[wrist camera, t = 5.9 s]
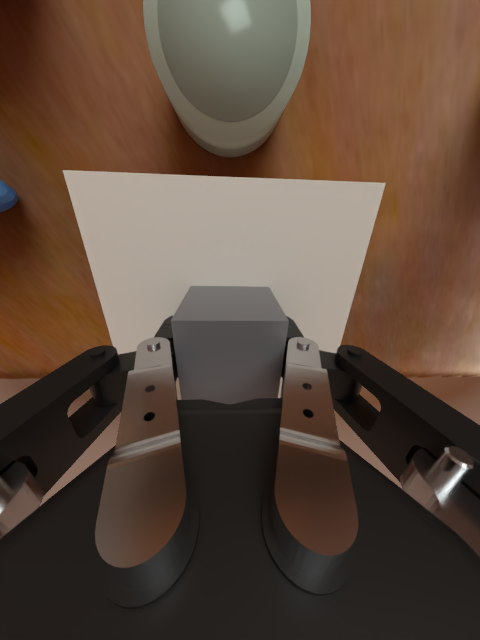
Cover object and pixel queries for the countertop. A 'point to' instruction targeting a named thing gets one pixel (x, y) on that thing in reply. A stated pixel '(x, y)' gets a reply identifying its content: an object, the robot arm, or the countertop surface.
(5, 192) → the grapes
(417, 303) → the countertop surface
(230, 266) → the lid
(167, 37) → the bowl
